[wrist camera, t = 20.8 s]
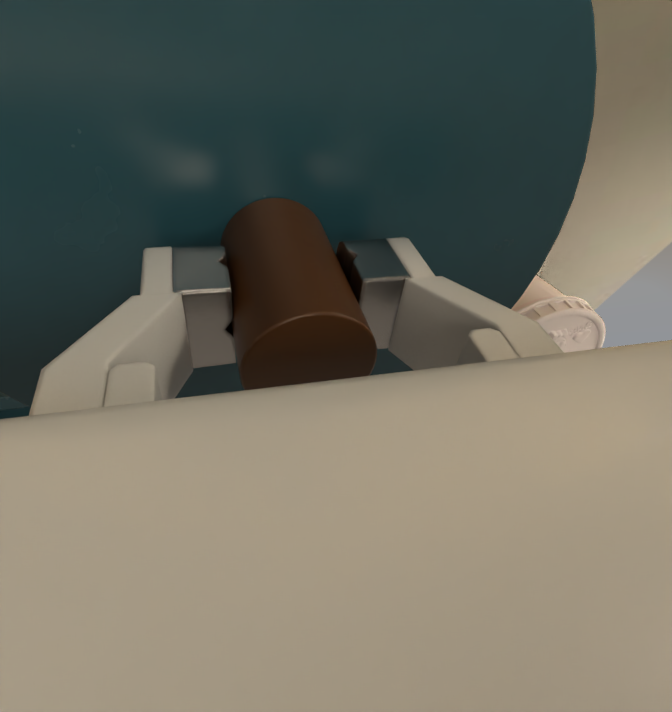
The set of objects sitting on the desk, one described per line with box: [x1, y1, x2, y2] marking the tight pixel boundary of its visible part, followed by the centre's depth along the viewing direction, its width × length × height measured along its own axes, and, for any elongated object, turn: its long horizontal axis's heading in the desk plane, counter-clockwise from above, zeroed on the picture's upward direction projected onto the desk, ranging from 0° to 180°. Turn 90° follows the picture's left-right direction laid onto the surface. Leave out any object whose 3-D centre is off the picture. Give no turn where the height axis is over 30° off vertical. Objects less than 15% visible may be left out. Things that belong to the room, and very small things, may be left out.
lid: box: [0, 0, 597, 407], centre depth 10 cm, size 16×16×5 cm
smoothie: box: [511, 275, 606, 353], centre depth 23 cm, size 6×6×14 cm
